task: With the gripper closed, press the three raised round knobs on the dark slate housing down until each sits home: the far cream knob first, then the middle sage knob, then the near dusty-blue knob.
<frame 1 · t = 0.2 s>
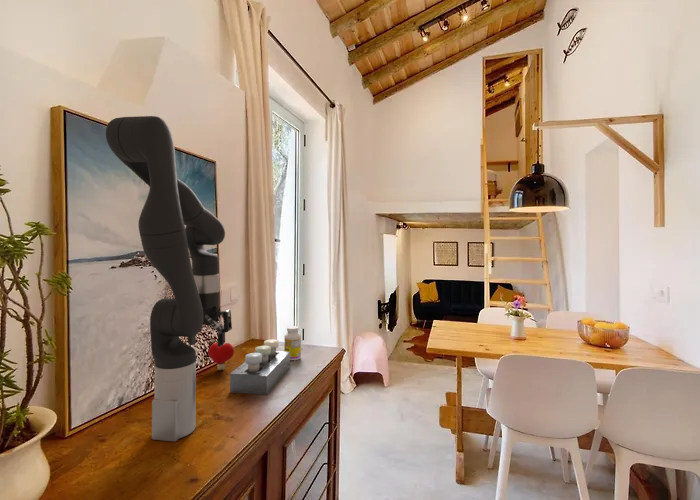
hand: (206, 345, 100), 17 cm above the sideboard, tool pointing down, fingers open, 8 cm apart
cap near: (253, 363, 112), point 8 cm above the sideboard, slide at 0.0 cm
cap far: (271, 348, 128), point 8 cm above the sideboard, slide at 0.0 cm
red heart: (221, 370, 128), on the sideboard
supplement bottle: (292, 358, 142), on the sideboard
housing: (262, 378, 120), on the sideboard
cap mid: (263, 355, 120), point 8 cm above the sideboard, slide at 0.0 cm
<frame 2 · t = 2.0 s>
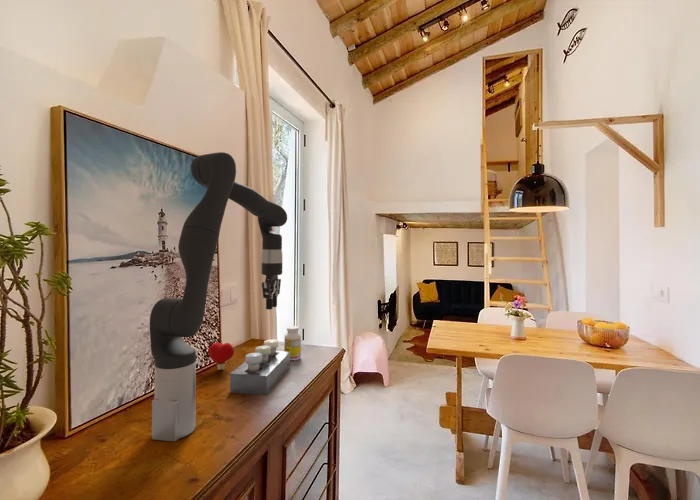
hand: (271, 307, 128), 23 cm above the sideboard, tool pointing down, fingers open, 4 cm apart
nothing on the sideboard moved.
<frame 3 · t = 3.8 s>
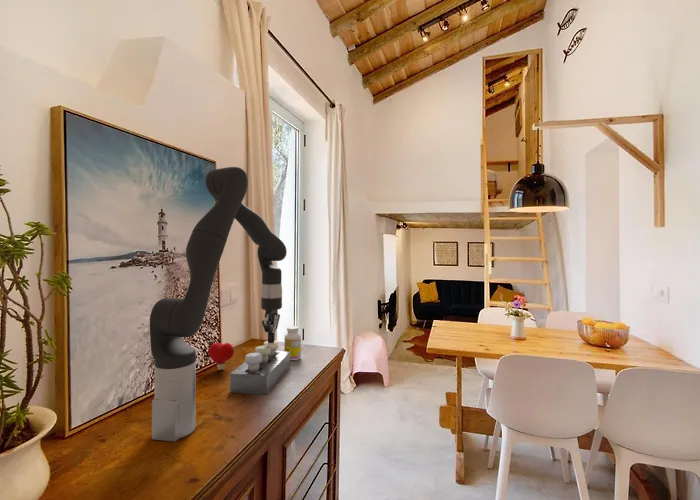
hand: (271, 342, 128), 10 cm above the sideboard, tool pointing down, fingers closed
cap far: (271, 349, 128), point 8 cm above the sideboard, slide at 0.4 cm, touching gripper
everything else where it was.
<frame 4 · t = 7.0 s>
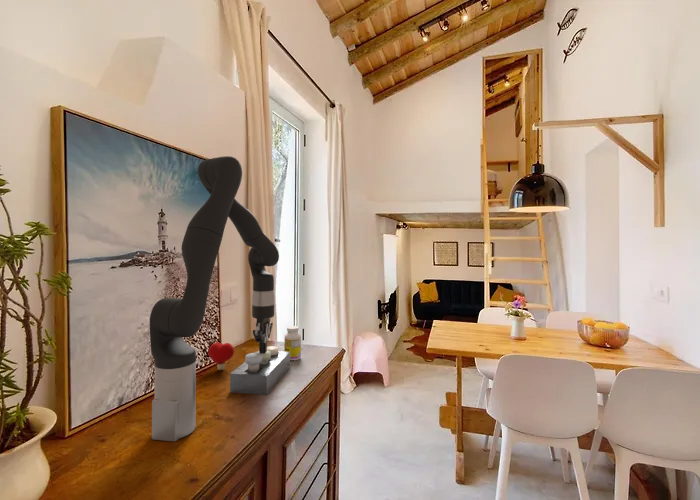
hand: (263, 352, 120), 9 cm above the sideboard, tool pointing down, fingers closed
cap far: (271, 355, 128), point 6 cm above the sideboard, slide at 2.6 cm
cap mid: (262, 360, 120), point 7 cm above the sideboard, slide at 1.8 cm, touching gripper
everything else where it was.
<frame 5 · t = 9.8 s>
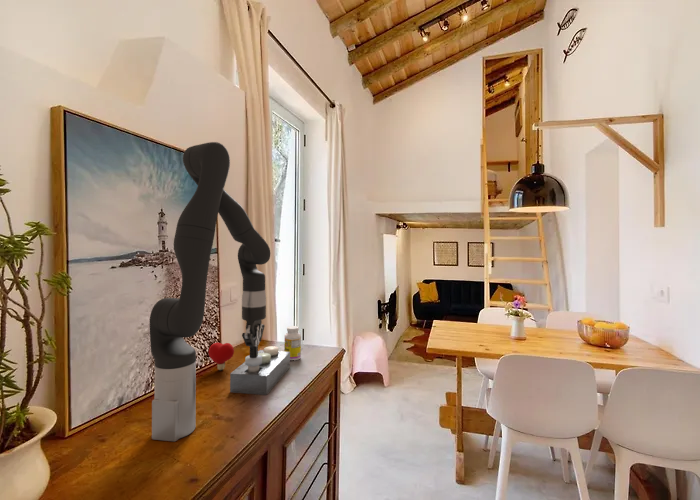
hand: (253, 357, 112), 10 cm above the sideboard, tool pointing down, fingers closed
cap near: (253, 364, 112), point 8 cm above the sideboard, slide at 0.6 cm, touching gripper
cap mid: (262, 362, 120), point 6 cm above the sideboard, slide at 2.6 cm
everything else where it was.
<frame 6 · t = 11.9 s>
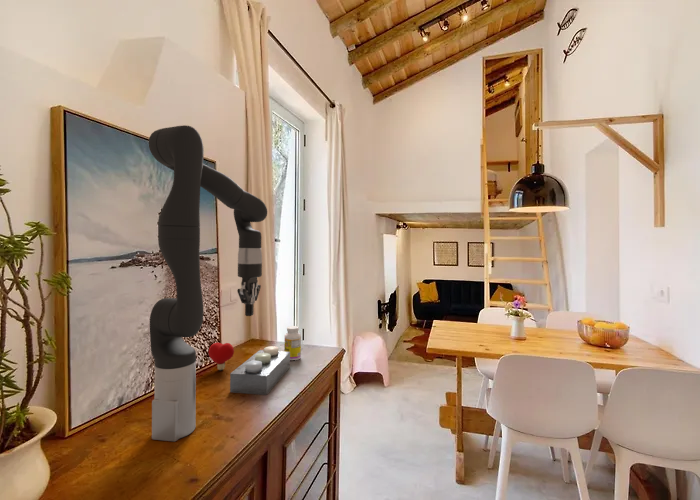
hand: (249, 315, 112), 24 cm above the sideboard, tool pointing down, fingers closed
cap near: (253, 371, 112), point 6 cm above the sideboard, slide at 2.6 cm
everything else where it was.
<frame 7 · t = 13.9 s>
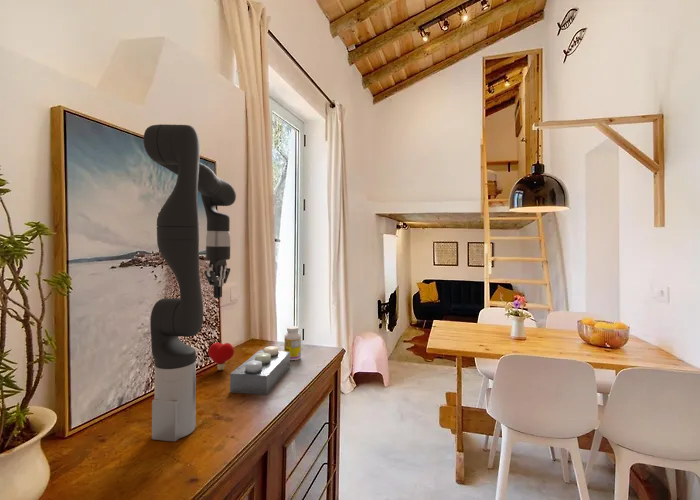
hand: (217, 297, 114), 29 cm above the sideboard, tool pointing down, fingers closed
nothing on the sideboard moved.
at the end: cap far slide at 2.6 cm; cap mid slide at 2.6 cm; cap near slide at 2.6 cm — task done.
